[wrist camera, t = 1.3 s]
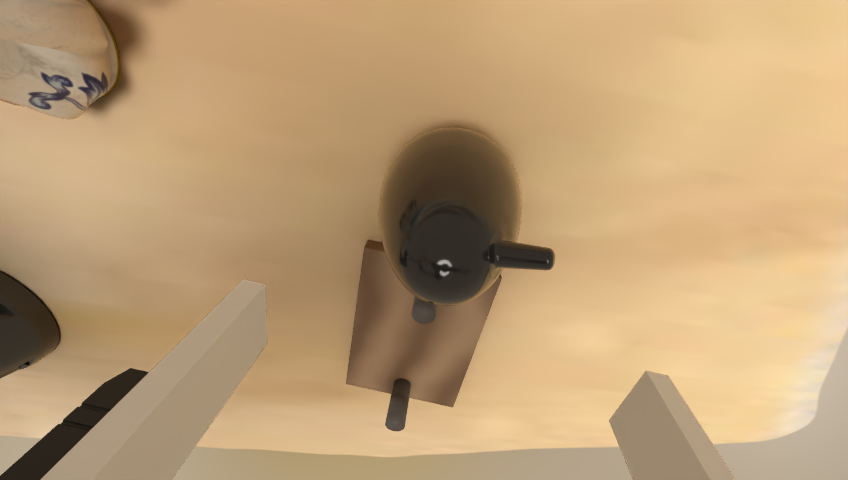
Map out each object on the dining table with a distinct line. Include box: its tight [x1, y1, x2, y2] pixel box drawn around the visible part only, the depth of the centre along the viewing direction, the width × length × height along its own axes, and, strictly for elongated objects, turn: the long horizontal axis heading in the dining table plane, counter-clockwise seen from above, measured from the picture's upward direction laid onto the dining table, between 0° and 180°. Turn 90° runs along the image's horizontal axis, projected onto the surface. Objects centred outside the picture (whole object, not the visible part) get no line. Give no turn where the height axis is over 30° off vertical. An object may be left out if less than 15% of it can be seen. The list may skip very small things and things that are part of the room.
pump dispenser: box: [378, 127, 555, 306], centre depth 23 cm, size 10×10×15 cm
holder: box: [346, 240, 502, 431], centre depth 34 cm, size 13×19×6 cm
